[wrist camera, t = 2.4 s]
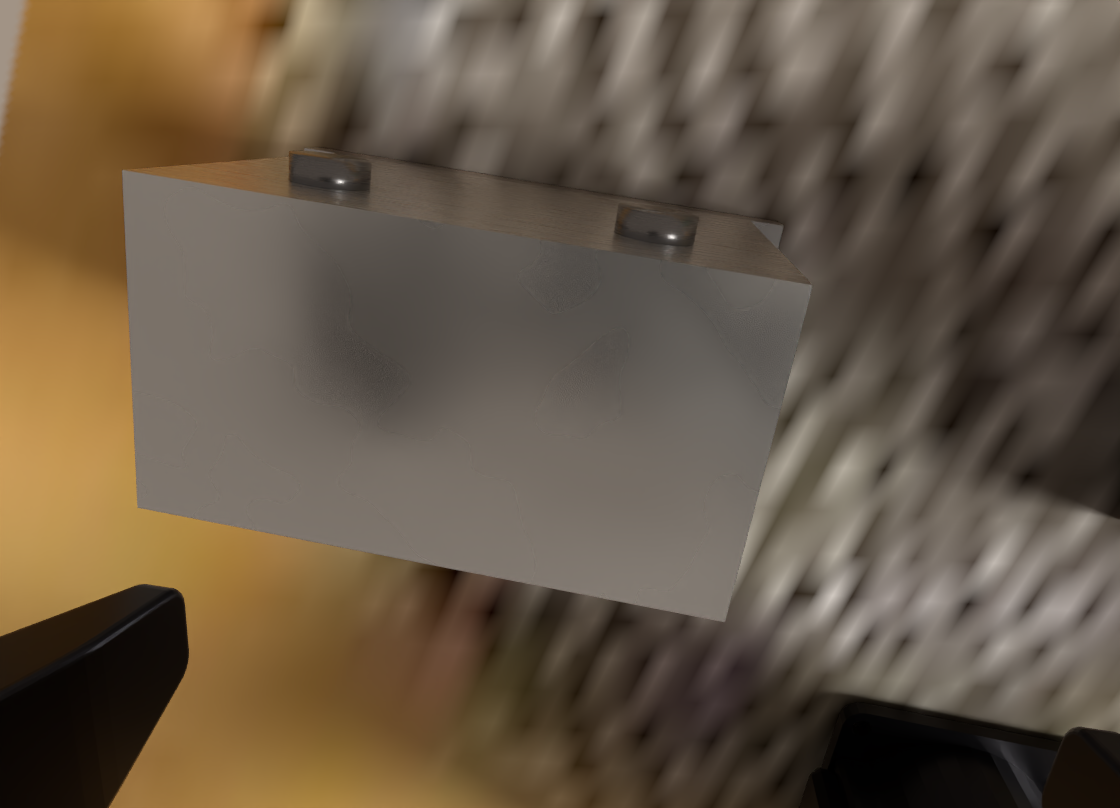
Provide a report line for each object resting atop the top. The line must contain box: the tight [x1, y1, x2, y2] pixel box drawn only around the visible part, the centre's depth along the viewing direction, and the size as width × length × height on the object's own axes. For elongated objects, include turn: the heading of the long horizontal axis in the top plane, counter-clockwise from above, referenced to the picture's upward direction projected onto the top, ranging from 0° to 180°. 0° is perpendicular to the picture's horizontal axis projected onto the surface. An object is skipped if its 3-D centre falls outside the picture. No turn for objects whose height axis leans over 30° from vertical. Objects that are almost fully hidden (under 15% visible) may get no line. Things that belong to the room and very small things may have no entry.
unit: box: [122, 147, 813, 622], centre depth 15 cm, size 10×6×8 cm, turn 82°
